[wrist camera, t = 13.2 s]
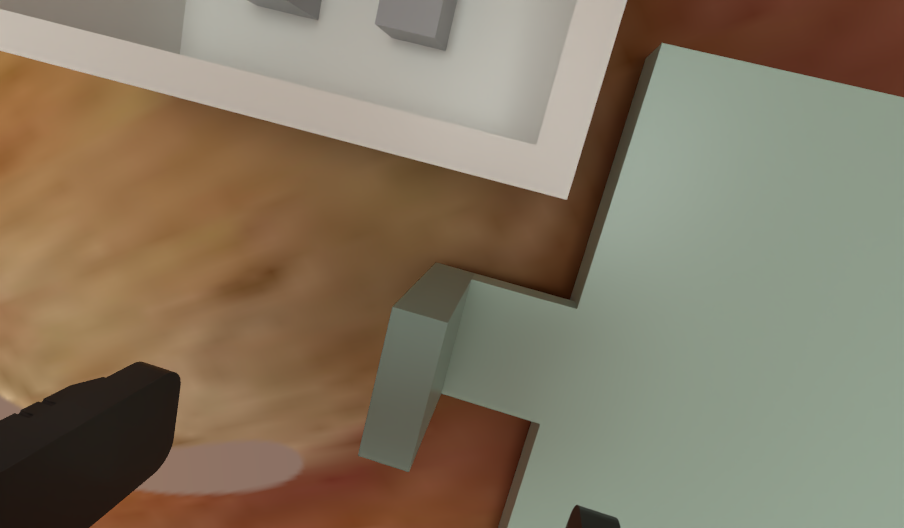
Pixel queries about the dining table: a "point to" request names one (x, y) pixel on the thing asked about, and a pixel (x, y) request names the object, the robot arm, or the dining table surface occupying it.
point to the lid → (694, 319)
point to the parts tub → (359, 69)
